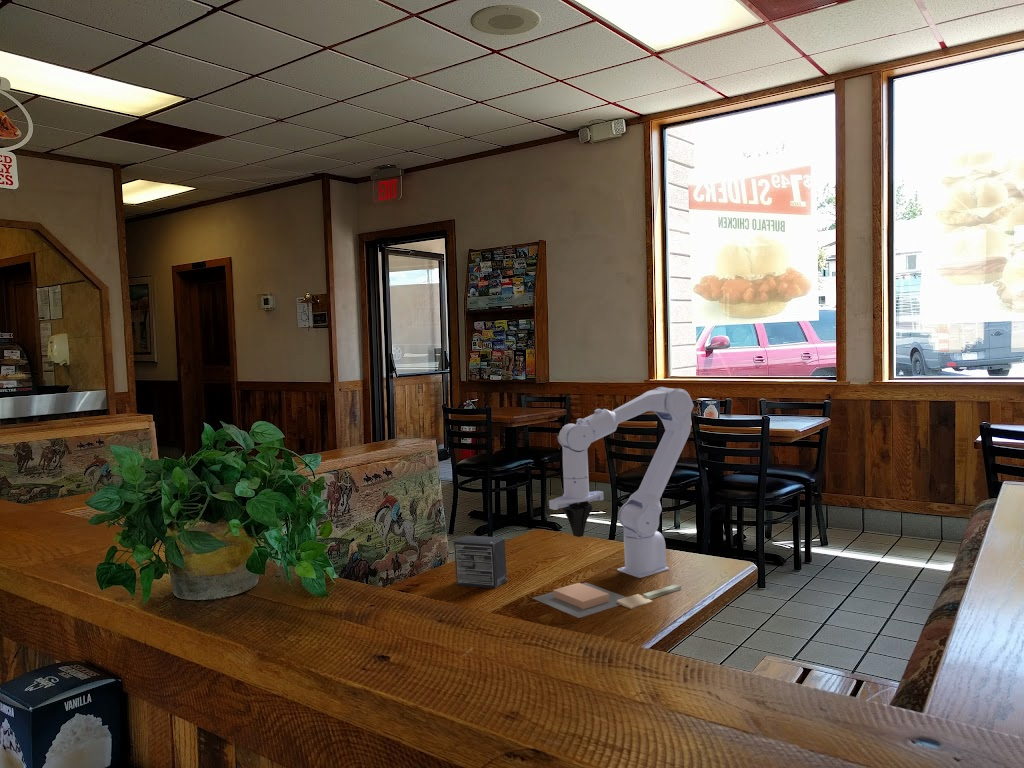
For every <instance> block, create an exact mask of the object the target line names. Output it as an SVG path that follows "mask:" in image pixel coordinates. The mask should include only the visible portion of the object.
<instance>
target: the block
mask: <svg viewBox="0 0 1024 768" xmlns="http://www.w3.org/2000/svg"><path fill="white" fill-rule="evenodd" d="M552 592H554V598H557V599H559V600H562V601H564V602H567V603H569V604H572V605H574V606H576V607H579V608H581V609H586V608H589V607H593V606H596V605H599V604H602V603H605V602H609V594H608V593H606V592H603V591H600V590H597V589H595V588H592V587H589V586H586V585H584V584H582V583H580V582H577V583H573V584H570V585H569V584H568V585H566V586H562V587H559V588H555V589H553V590H552Z"/></svg>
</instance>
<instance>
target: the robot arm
mask: <svg viewBox="0 0 1024 768" xmlns="http://www.w3.org/2000/svg"><path fill="white" fill-rule="evenodd" d="M694 406H695V404H694V403H693V400H692V398H691V395H690V394H689V392H688V391H687V390H686V389H683V388H671V387H670V388H669V387H665V386H658V387H656V388H654V389H651V390H647V391H645V392H643V393H642V394H641V395H639V396H637V397H635V398H633V399H631V400H630V401H628V402H626V403H623V404H622V405H620V406H619V407H616V408H615V409H612V410H608V409H606V408H603V409H601V408H596V409H594V411H593V412H594V413H593V414H590V415H589V416H586V417H584V418H582V417H581V418H577V419H576V423H567V424H564V426H562V428H561V429H560V431H559V433H558V435H557V442H558V443H559V444H560V446H561V448H562V472H563V473H562V474H563V475H562V478H563V479H562V480H563V494H562V495H561V496H559V497H556V498H554V499H550V500H548V506H549V510H554V511H557V510H559V509H561V510H562V511H563V512H564V514H565V516H566V518H567V520H568V522H569V526H570V529H571V531H572V532H571V533H572V536H574V537H576V538H582V537H584V534H585V529H586V526H587V521H588V519H589V516H590V514H591V512H592V510H593V504H590V503H591V502H596V501H605V500H604V499H605V497H604V491H602V490H601V491H600V490H595V491H594V490H593V491H590V484H589V483H590V481H589V480H590V479H589V455H588V454H589V453H588V449H589V447H590V446H591V444H592V443H594V442H596V441H598V440H600V439H602V438H604V437H606V436H608V435H610V434H612V433H614V432H616V431H617V428H618V425H619V424H621V423H624V422H626V421H628V420H630V419H634V418H635V417H637V416H641V415H642V414H644V413H646V412H653V413H655V414H656V416H657V417H658V418H659V419H660V420H661V423H662V425H663V427H664V430H665V431H664V433H663V435H662V438H661V439H660V441H659V444H658V446H657V448H656V450H655V452H654V454H653V457H652V459H651V461H650V463H649V465H648V467H647V470H646V472H645V474H644V476H643V479H642V480H641V483H640V485H639V487H638V489H637V490H636V491H635V492H633V493H632V494H630V496H629V498H628V500H626V502H625V503H624V504H623V505H622V506H621V507H620V509H619V510H618V514H617V515H618V517H617V518H618V522H619V523H620V525H621V526H622V527H623V547H624V550H623V551H624V566H622V567H619V568H617V571H618V572H620V573H623V574H627V575H630V576H632V577H635V578H639V579H640V578H644V577H648V576H651V575H655V574H658V573H662V572H665V571H669V570H670V568H669V567H668V566H667V553H666V551H667V549H666V548H667V547H666V541H665V538H664V536H663V534H662V533H661V532H660V531H658V530H659V529H658V528H659V527H660V516H661V513H662V511H663V509H662V508H663V507H662V505H661V501H660V500H661V498H662V495H663V493H664V491H665V489H666V486H667V485H668V483H669V480H670V477H671V476H672V473H673V471H674V469H675V467H676V464H677V462H678V460H679V458H680V455H681V454H682V451H683V449H684V447H685V445H686V443H687V440H688V438H689V435H690V434H691V429H692V428H691V427H692V411H693V408H694Z"/></svg>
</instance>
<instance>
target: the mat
mask: <svg viewBox="0 0 1024 768" xmlns="http://www.w3.org/2000/svg"><path fill="white" fill-rule="evenodd" d="M581 584H584V585H586V586H589V587H592V588H595V589H597V590H600V591H603V592H606V593H608V594H609V602H605V603H602V604H599V605H596V606H593V607H589V608H586V609H581V608H579V607H576V606H574V605H572V604H569V603H567V602H564V601H562V600H559V599H557V598H554V592H553V591H551V592H548V593H545V594H541V595H538V596H535V597H532V600H535V601H538V602H540V603H542V604H545V605H547V606H550V607H552V608H554V609H557V610H559V611H561V612H563V613H566V614H568V615H570V616H572V617H576V618H578V619H580V618H584V617H586V616H587V617H588V616H590V615H593V614H597V613H600V612H603V611H606V610H609V609H612V608H615V607H619V606H622V605H621V604H619V603H617V600H619V599H622V598H626V597H627V596H624V595H622V594H618V593H616V592H614V591H610V590H608V589H605V588H602V587H600V586H597V585H594V584H591V583H588V582H583V583H581Z"/></svg>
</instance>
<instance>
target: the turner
mask: <svg viewBox="0 0 1024 768" xmlns="http://www.w3.org/2000/svg"><path fill="white" fill-rule="evenodd" d="M680 590H682V585H681V584H678V583H675V584H671V585H669V586H665V587H662V588H659V589H655V590H651V591H649V592H648V591H647V592H645V593H642V595H641V594H639V593H637V594H633V595H630V596H625V597H626V598H622V599H619V600H617V603H619V604H621V605H620V606H623V607H625V608H627V609H630V610H632V609H635V608H639V607H641V606H644V605H648V604H651V603H653V599H655V598H658V597H661V596H665V595H668V594H672V593H674V592H676V591H680Z"/></svg>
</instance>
